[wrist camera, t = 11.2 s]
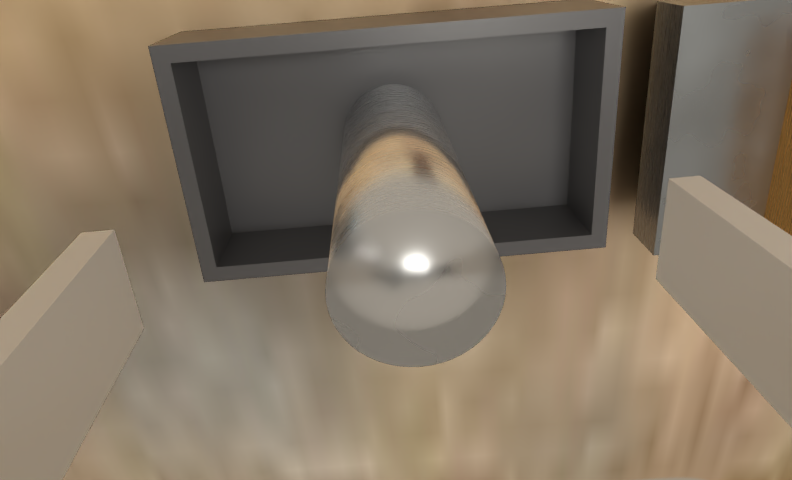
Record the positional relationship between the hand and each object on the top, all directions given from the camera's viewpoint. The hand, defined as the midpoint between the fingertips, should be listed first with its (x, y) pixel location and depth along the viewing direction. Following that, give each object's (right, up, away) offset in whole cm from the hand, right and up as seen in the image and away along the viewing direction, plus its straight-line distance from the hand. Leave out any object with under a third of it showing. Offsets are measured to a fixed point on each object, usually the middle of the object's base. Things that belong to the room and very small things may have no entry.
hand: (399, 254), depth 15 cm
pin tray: (0, +5, +11) cm, 12 cm away
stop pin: (0, +5, +11) cm, 12 cm away
